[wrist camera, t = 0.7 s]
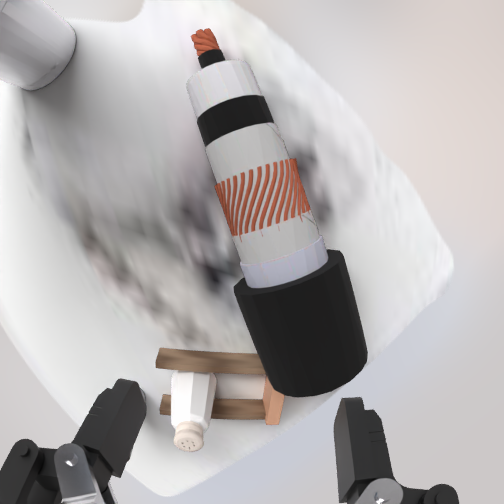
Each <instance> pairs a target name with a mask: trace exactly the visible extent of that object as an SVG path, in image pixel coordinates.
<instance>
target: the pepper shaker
mask: <svg viewBox="0 0 504 504" xmlns="http://www.w3.org/2000/svg"><path fill="white" fill-rule="evenodd" d="M216 383H217V379H216V377H215V375H214V373H211V372H195V371H182V370H175V371H174V373H173V375H172V387H171V424H172V426H173V427H174V429H175V430H176V432H175V437H174V444H175V445H176V446H177V447H178V448H179V449H181V450H183V451H187V452H194V451H198V450H200V449H201V448H202V447H203V445H204V441H203V434H204V433H205V432H206V430H207V429H208V427H209V424H210V418H211V412H212V407H213V401H214V395H215V389H216Z"/></svg>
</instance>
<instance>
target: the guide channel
mask: <svg viewBox="0 0 504 504" xmlns="http://www.w3.org/2000/svg"><path fill="white" fill-rule="evenodd" d="M156 368H161V369H171V370H182V371H195V372H211V373H232V374H266V373H265V370H264V368H263V365H262V363H261V360H260V358H259V355H258V354H246V353H222V352H205V351H190V350H178V349H167V348H160V349H159V352H158V356H157V359H156ZM284 396H285V395H283V394H281V393H279V392H277V391H275V390H274V389H273V387H272V385H271V384H270V382H269V380H268V377H267V375H266V382H265V389H264V395H263V400H249V399H215V398H214V401H213V407H212V412H211V418H212V419H265V421H266V425H278V424H279V421H280V416H281V411H282V406H283V401H284ZM160 414H162V415H171V395H164V394H163V396H162V401H161V405H160Z"/></svg>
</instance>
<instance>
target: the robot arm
mask: <svg viewBox="0 0 504 504" xmlns="http://www.w3.org/2000/svg"><path fill="white" fill-rule="evenodd" d="M75 43H76V36H75V32H74V30H73V28H72V27H71V26H70V25H69V24H68V23H67V22H66V21H65V20H64V19H63V18H62V17H61V16H60V15H59V14H58V13H57V12H56V11H54V10H53V9H52V8H51V7H50V6H49V5H48V4H47V3H46V2H45V1H44V0H0V80H2V81H4V82H7V83H10V84H13V85H15V86H18V87H20V88H23V89H26V90H36V89H39V88H42V87H44V86H46V85H47V84H49V83H51V82H52V81H53V80H54V79H55V78H57V77H58V76H59V74H60V73H61V72H62V71H63V70H64V68H65V67H66V66H67V64H68V63H69V61H70V59H71V57H72V55H73V52H74V49H75ZM145 416H146V403H145V401H144V398H143V395H142V393H141V390H140V387H139V385H138V383H137V382H135V381H130V380H125V379H118V380H117V381H116V383H115V385H114V386H113V388H112V389H109V388H107V389H106V390H104V391H103V392H102V393H101V394H100V395H98V397H97V399H96V401H95V402H94V404H93V407H92V408H91V409H90V411H89V414H88V415H87V416H86V418H85V420H84V422H83V424H82V425H81V427H80V429H79V431H78V433H77V434H76V436H75V438H74V440H73V441H72V442H71V443H69V444H64V445H62V446H60V447H59V448H58V449H49V448H39V447H38V446H37V445H36V444H35V443H34V442H33V441H32V440H29V439H21V440H19V441H18V442H16V443H15V445H14V446H13V447H12V449H11V451H10V453H9V455H8V457H7V459H6V461H5V462H4V464H3V466H2V468H1V470H0V504H118V503H117V500H116V498H115V495H114V493H113V490H112V487H111V484H110V482H109V480H110V478H111V475H113V476H116V477H119V478H121V475H122V473H123V470H124V468H125V465H126V463H127V460H128V458H129V455H130V453H131V450H132V448H133V445H134V443H135V441H136V438H137V436H138V433H139V431H140V428H141V426H142V424H143V421H144V419H145ZM334 441H335V452H336V464H337V478H338V493H339V503H344V502H347V504H459V500H458V495H457V493H456V491H455V489H454V488H453V487H451V486H449V485H446V484H439V485H436V486H434V487H432V488H430V489H429V490H423V489H412V488H407V487H404V486H402V485H401V484H399V483H398V482H397V481H396V480H395V478H394V476H393V473H392V468H391V462H390V457H389V453H388V448H387V443H386V439H385V434H384V430H383V426H382V421H381V419H380V417H379V416H378V415H377V413H376V412H375V411H374V410H365V409H364V404H363V400H362V398H361V397H355V398H342V399H341V402H340V405H339V408H338V412H337V415H336V418H335V422H334ZM62 499H63V503H61V501H62Z"/></svg>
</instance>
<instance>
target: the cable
mask: <svg viewBox="0 0 504 504" xmlns="http://www.w3.org/2000/svg"><path fill="white" fill-rule="evenodd" d="M191 38H192V41H193V42H194V47H195V49H196V50H197V56H199V57H198V60H199V63H200V66H201V68H202V69H201V70H200V71H198V72H196V73H195V74H194V75H193V76H192V77H191V78H190V79H189V80H188V82H187V84H186V87H187V91H188V94H189V97H190V100H191V102H192V105H193V108H194V111H195V114H196V117H197V124H198V127H199V130H200V133H201V135H202V138H203V141H204V144H205V147H206V149H205V151H206V154H207V157H208V159H209V162H210V165H211V168H212V170H213V173H214V176H215V178H216V181H217V185H215V186H214V187H215V189H216V192H217V195H218V197H219V200H220V203H221V205H222V208H223V211H224V214H225V217H226V219H227V223H228V225H229V228H230V231H231V234H232V238H233V241H234V243H235V246H236V249H237V251H238V254H239V256H240V259H241V261H240V266H241V268H242V271H243V274H244V278H243V279H241V280H240V281H239V282H238V283H237V284H236V285H235V286H234V293H235V296H236V299H237V301H238V304H239V307H240V309H241V312H242V314H243V317H244V319H245V322H246V325H247V327H248V330H249V332H250V335H251V337H252V340H253V342H254V345H255V348H256V350H257V353H258V355H259V358H260V360H261V363H262V365H263V368H264V370H265V373H266V375H267V377H268V380H269V382H270V384H271V385H272V387H273V389H274V390H275V391H277V392H279V393H281V394H283V395H286V396H292V397H308V396H316V395H320V394H324V393H327V392H331V391H333V390H335V389H337V388H338V387H340V386H342V385H344V384H346V383H348V382H350V381H351V380H352V379H353V378H354V377H355V376H356V375H357V374H358V373H359V372H360V371H361V370H362V369H363V367H364V365H365V364H366V362H367V354H368V352H367V347H366V342H365V338H364V334H363V329H362V325H361V321H360V316H359V312H358V308H357V304H356V300H355V296H354V292H353V289H352V285H351V281H350V277H349V274H348V270H347V266H346V263H345V259H344V256H343V254H342V253H341V252H340V251H338V250H330V249H329V250H326V247H325V244H324V241H323V238H322V236H321V235H319V234H318V228H317V225H316V223H315V220H314V219H313V215H312V212H311V209H310V206H309V204H308V201H307V198H306V195H305V191H304V188H303V186H302V183H301V180H300V177H299V174H298V167H297V161H296V158H295V159H289V156H288V152H287V150H286V147H285V144H284V141H283V139H282V138H281V135H280V133H279V130H278V127H277V125H276V124H275V123H274V121H273V118H272V116H271V113H270V111H269V108H268V106H267V103H266V101H265V99H264V96H263V95H262V93H261V90H260V88H259V86H258V83H257V81H256V78H255V76H254V74H253V71H252V69H251V66H250V65H249V64H248V63H247V62H246V61H242V60H227V61H225V58H224V56H223V53H222V51H221V50H220V49H219V46H218V43H217V41H216V38H215V36H214V34H213V33H212V31H211V30H210V29H209V28H208V29H205V30H204V32H203V30H201V29H200V30H198V31H196V34H193V35H192V36H191Z"/></svg>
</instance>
